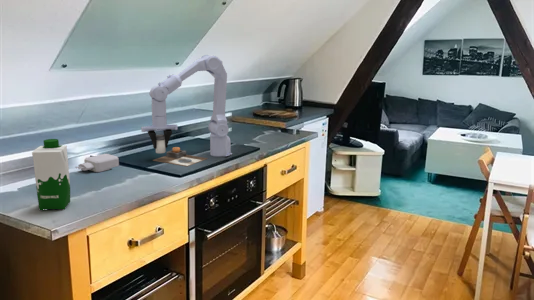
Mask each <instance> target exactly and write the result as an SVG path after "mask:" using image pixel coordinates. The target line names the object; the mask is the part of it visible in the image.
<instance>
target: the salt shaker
mask: <svg viewBox="0 0 534 300" xmlns="http://www.w3.org/2000/svg"><path fill="white" fill-rule="evenodd" d="M166 152H167V150H166V147H165V135H164V134H156V149H155V153H156V154H165V153H166Z"/></svg>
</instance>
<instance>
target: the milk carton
mask: <svg viewBox="0 0 534 300" xmlns="http://www.w3.org/2000/svg"><path fill="white" fill-rule="evenodd" d="M59 142H60V141H59V139H57V138H48V139H47V138H46V139H44V140H43V145H40V146H38V147H36V148H34V150H33V151H31V154H32V162H33V170H34V177H35V188H36V195H37V203H38V210H39V209H40V210H42V211H44V210H43V209H64V210H66V208H67V207H68V205H69V204H70V202H71V181H70V169H69V168H70V167H69V158H68V148H67V147H68V146H67V145H60V143H59ZM68 203H69V204H68ZM66 206H67V207H66ZM65 207H66V208H65Z"/></svg>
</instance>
